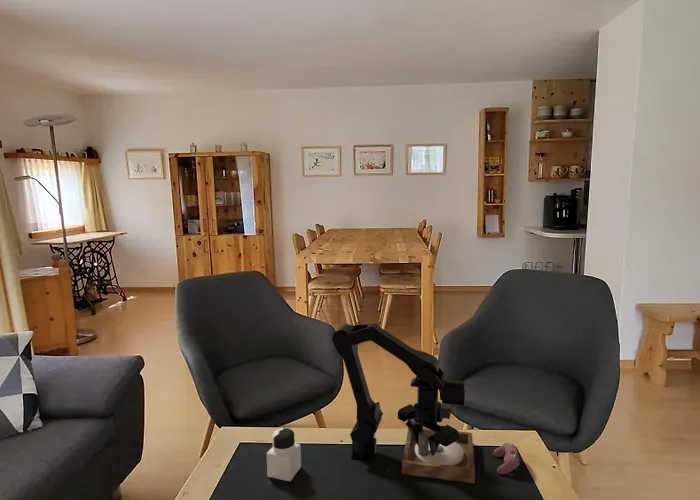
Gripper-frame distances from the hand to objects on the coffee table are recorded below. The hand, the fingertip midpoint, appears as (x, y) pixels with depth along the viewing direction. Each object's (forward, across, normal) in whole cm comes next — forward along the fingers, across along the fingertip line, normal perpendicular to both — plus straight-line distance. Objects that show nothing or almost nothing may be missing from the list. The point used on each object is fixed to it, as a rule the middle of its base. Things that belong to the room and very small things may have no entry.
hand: (426, 450), depth 130 cm
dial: (+2, -1, -4) cm, 5 cm away
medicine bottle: (+4, +22, +34) cm, 41 cm away
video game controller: (+4, -15, -16) cm, 23 cm away
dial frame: (+4, -1, -4) cm, 6 cm away
